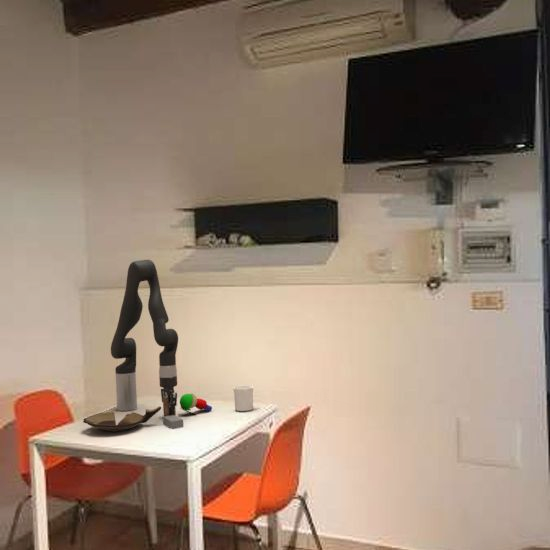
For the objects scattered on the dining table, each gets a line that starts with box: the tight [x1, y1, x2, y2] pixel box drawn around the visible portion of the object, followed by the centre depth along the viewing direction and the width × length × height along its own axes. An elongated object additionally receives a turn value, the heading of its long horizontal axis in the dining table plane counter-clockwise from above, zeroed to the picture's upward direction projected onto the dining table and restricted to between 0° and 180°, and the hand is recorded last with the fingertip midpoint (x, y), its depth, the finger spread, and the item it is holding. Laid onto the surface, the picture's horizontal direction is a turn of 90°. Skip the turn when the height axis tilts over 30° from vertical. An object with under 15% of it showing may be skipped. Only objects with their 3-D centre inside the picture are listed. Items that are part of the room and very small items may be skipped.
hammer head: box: [162, 415, 184, 430], centre depth 247 cm, size 10×5×3 cm, turn 31°
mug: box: [232, 385, 254, 413], centre depth 270 cm, size 11×9×10 cm
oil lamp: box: [82, 406, 162, 432], centre depth 244 cm, size 22×30×8 cm
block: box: [162, 396, 177, 417], centre depth 258 cm, size 4×4×10 cm
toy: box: [179, 393, 213, 415], centre depth 267 cm, size 8×8×15 cm
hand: (169, 414), depth 258 cm, fingers open, 5 cm apart
